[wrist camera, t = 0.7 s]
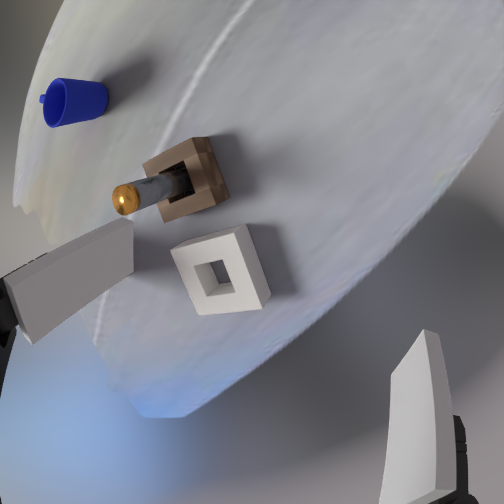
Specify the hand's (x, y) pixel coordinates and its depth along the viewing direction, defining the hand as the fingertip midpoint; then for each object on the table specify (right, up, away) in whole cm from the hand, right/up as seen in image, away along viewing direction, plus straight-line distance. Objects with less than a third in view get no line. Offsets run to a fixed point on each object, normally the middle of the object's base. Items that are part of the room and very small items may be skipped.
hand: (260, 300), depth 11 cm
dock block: (-4, 0, +32) cm, 32 cm away
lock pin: (-9, +12, +28) cm, 32 cm away
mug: (-29, +30, +29) cm, 51 cm away
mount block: (-9, +12, +28) cm, 32 cm away
